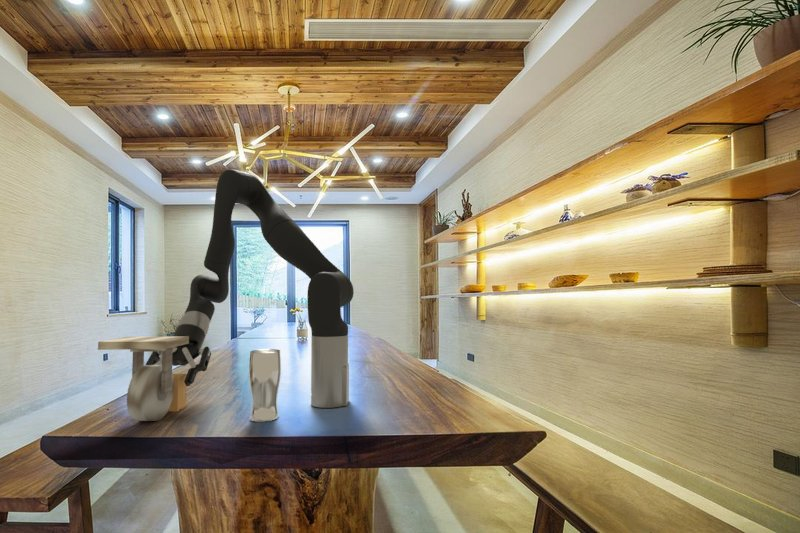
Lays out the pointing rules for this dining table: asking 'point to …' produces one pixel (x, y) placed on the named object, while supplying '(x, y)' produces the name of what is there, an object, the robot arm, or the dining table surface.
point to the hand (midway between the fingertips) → (169, 384)
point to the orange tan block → (178, 393)
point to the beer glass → (264, 383)
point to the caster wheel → (148, 374)
